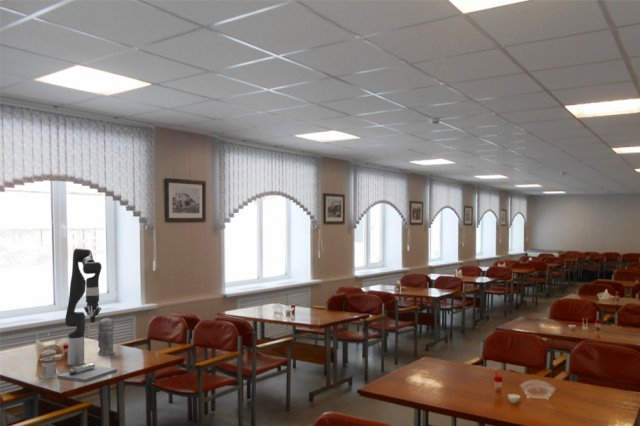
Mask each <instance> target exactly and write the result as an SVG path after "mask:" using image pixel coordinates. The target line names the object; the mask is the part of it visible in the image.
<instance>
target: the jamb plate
mask: <svg viewBox="0 0 640 426" xmlns="http://www.w3.org/2000/svg"><path fill="white" fill-rule="evenodd" d="M90 363H91V362H89V361H87V362H84V363H83V365H87V364H90ZM116 372H118V369H117V368H114V367H106V366H105V367H104V366H97V365H95V368H92V369H88V370H85V371H82V372H78V373H76V374H69V371H67V372H64V373H60V374H58V375H57V376H56V378H57V379H62V380H68V379H69V380H70V381H76V382H82V381H83V382H84V383H86V381H87V382H89V381H92V380H95V379H99V378H101V377H105V376H106V375H110V374H113V373H116Z"/></svg>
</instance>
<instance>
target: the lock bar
mask: <svg viewBox="0 0 640 426" xmlns="http://www.w3.org/2000/svg"><path fill="white" fill-rule="evenodd" d="M95 366H96V363H93V362H90V364H87V365H84V364H82V365H81V366H77V367H72V368H70V369H68V372H69V374H76V373H78V372H82V371H85V370H88V369H92V368H95Z"/></svg>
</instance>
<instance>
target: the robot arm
mask: <svg viewBox="0 0 640 426" xmlns="http://www.w3.org/2000/svg"><path fill="white" fill-rule="evenodd" d="M79 263H82V272H83V273H84V274H87V275H90V274H92V275H93V276H90V277H87V278H86V279H85V276H84V275H83V274H82V272H81V269H80V267H79ZM71 271H72V272H71V276H70V277H71V279H70V283H69V284H70V285H69V296H68V303H67V307H66V308H67V309H66V313H65V319H64V320H65V325H66V327H74V328H75V327H76V328H75V330H73V331H71V332H69V333H68V334H67V336H68V339H67V341H68V343H67V344H68V345H67V346H68V348H67V365H68V366H79V365H84V363H85V333H86V331H85V330H86V315H87V316H89V321H90V323H95V322H96V316H98V315H99V314H100V312H101V310H102V307H100V306H99V301H100V288H99V286H100V285H99V284H100V283H99V282H100V281H99V279H100V274H101V272H102V264H101V262H99V261H96V262H95V260H94V257H93V253H92V251H91V250H90V249H88V248H78V247H77V248H75V249H74V250H73V253H72V270H71ZM84 295H85V302H86V305H85V307H83V310H84V311H85V313H86V314H85V313H84V311H75V310H76V307H77V305H78V303H79V302H80V300H81V299H82V297H83V296H84Z"/></svg>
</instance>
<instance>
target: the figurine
mask: <svg viewBox="0 0 640 426" xmlns="http://www.w3.org/2000/svg"><path fill="white" fill-rule="evenodd" d="M97 329H98V332H97V333H98V334H97V335H98V336H97V341H98V343H97V344H98V348H99V350H98V352H97V355H98V356H108V355H110V356H111V355H114V354H115V352H114V329H115V325H114V321H113V319H112V318H109V317H105V318H102V319H101V320H99V322H98V327H97Z"/></svg>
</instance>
